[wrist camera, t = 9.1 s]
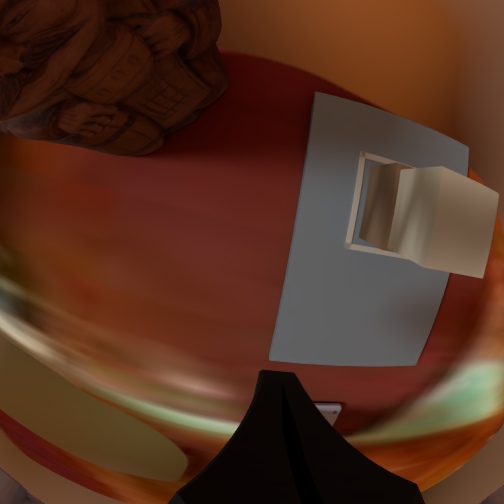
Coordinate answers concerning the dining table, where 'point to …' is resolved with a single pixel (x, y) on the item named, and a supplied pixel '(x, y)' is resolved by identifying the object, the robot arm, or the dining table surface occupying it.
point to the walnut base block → (380, 204)
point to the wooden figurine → (107, 70)
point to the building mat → (356, 245)
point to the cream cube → (443, 221)
